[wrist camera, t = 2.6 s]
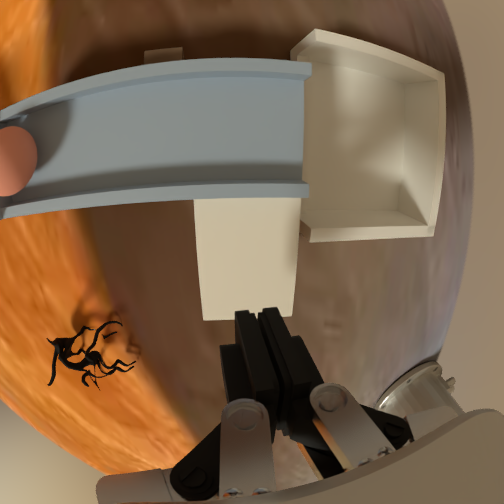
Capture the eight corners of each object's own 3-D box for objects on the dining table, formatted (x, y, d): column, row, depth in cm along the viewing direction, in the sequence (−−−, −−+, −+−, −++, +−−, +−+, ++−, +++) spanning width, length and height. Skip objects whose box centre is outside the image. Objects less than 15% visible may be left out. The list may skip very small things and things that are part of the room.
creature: (144, 320, 22) (56, 295, 17) (151, 368, 17) (43, 343, 13) (125, 374, 24) (52, 356, 20) (130, 418, 19) (46, 401, 15)
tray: (406, 78, 16) (444, 73, 12) (398, 218, 21) (433, 236, 17) (290, 50, 14) (315, 28, 10) (287, 219, 19) (310, 242, 15)
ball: (49, 117, 10) (1, 120, 6) (52, 183, 11) (6, 200, 8) (10, 132, 10) (-33, 140, 6) (14, 190, 11) (-27, 208, 8)
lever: (295, 74, 12) (317, 56, 8) (286, 301, 17) (299, 338, 14) (14, 114, 10) (-22, 116, 7) (45, 302, 15) (22, 330, 12)
